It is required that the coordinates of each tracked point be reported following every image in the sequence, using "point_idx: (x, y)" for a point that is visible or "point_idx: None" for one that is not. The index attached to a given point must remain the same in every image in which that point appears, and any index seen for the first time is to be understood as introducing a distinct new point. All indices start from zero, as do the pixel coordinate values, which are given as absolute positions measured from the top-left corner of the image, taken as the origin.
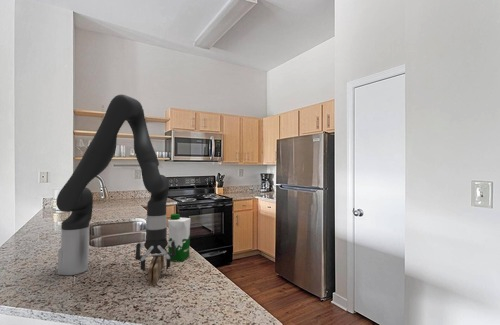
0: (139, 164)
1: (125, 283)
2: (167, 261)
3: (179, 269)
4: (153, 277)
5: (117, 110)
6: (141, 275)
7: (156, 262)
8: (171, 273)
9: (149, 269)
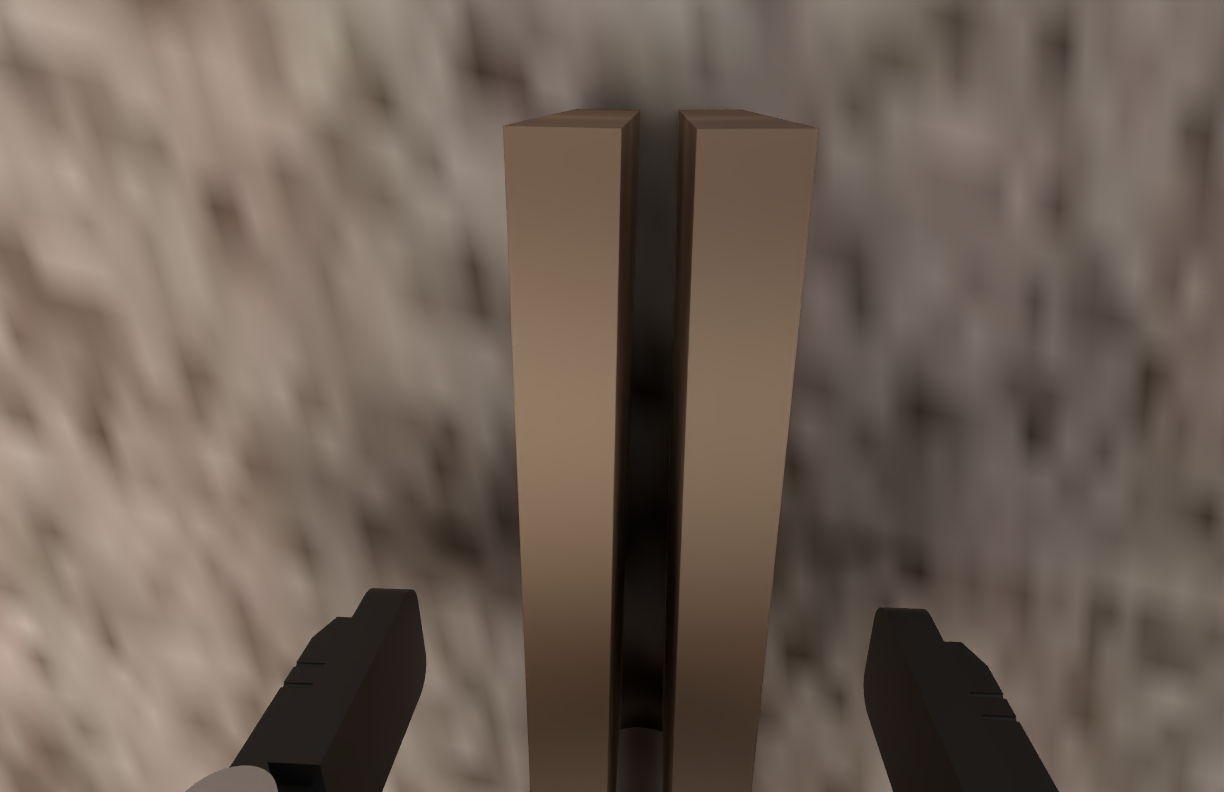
0: None
1: (1191, 366)
2: (311, 716)
3: None
4: (626, 116)
5: None
6: None
7: (592, 674)
8: None
9: (772, 133)
